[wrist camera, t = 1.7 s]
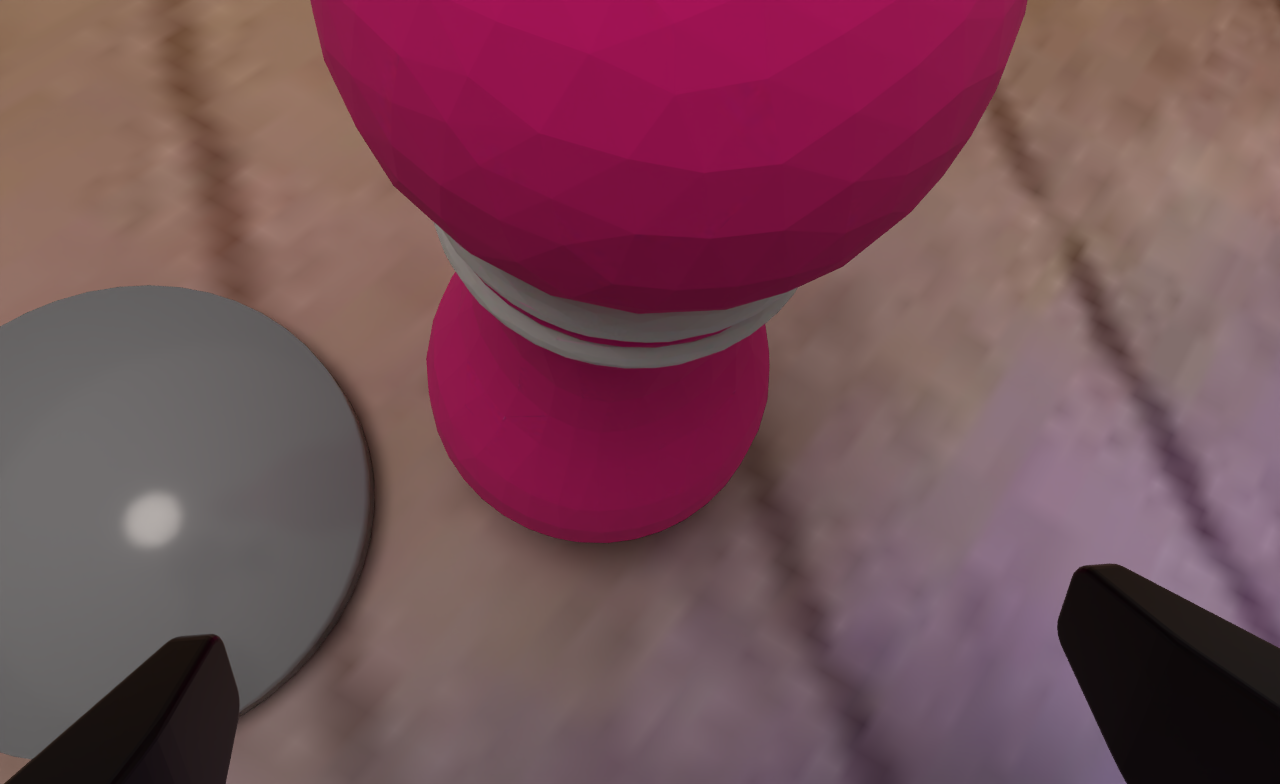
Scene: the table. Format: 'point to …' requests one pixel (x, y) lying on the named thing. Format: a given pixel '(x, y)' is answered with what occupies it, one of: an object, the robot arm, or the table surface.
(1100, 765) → the table surface
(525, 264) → the pepper mill
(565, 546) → the table surface
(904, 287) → the table surface
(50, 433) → the slate coaster
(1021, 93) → the table surface
